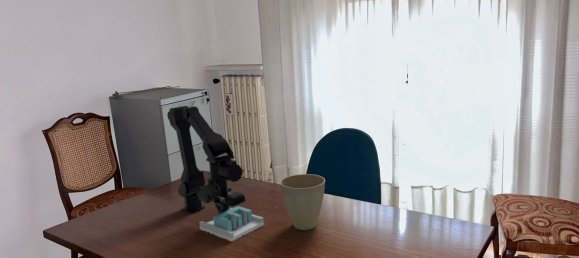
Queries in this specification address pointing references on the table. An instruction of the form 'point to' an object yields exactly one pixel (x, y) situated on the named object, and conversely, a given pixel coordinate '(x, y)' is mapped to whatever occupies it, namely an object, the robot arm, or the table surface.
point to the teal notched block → (225, 218)
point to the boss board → (239, 230)
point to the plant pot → (303, 199)
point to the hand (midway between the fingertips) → (222, 217)
